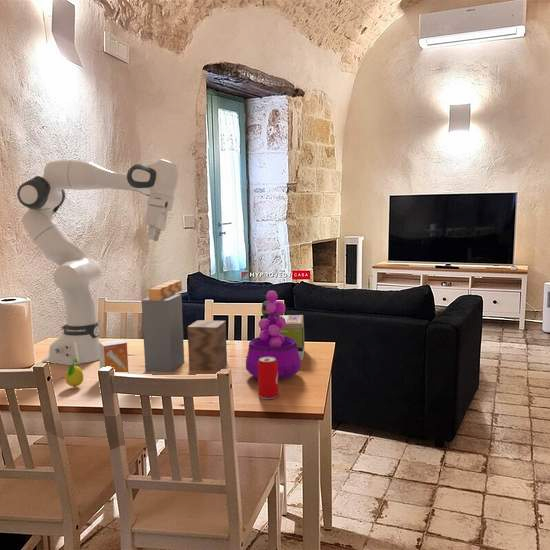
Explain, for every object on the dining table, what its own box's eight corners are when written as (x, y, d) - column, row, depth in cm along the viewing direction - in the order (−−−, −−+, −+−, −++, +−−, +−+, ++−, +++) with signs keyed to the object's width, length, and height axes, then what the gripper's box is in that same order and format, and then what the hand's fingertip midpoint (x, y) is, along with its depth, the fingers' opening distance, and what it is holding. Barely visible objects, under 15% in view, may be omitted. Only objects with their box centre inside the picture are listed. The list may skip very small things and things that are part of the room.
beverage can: (281, 394, 167) (280, 356, 166) (274, 401, 161) (273, 362, 160) (262, 392, 169) (261, 355, 168) (255, 399, 164) (254, 360, 162)
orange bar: (172, 290, 210) (171, 280, 210) (181, 290, 210) (181, 280, 209) (148, 300, 189) (148, 289, 188) (159, 300, 188) (159, 289, 188)
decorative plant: (264, 365, 197) (263, 284, 193) (310, 373, 188) (309, 288, 184) (235, 380, 181) (232, 292, 177) (283, 389, 172) (281, 296, 168)
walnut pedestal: (189, 370, 193) (187, 326, 191) (199, 361, 204) (197, 320, 202) (218, 371, 191) (217, 327, 189) (227, 362, 202) (225, 320, 200)
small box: (105, 383, 181) (103, 346, 179) (100, 378, 186) (98, 342, 184) (129, 379, 185) (127, 342, 183) (123, 374, 190) (121, 338, 189)
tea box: (280, 350, 218) (279, 314, 216) (304, 350, 217) (304, 314, 215) (276, 360, 203) (275, 322, 201) (303, 361, 202) (302, 322, 200)
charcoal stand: (159, 360, 206) (156, 293, 203) (184, 361, 204) (181, 294, 201) (145, 371, 193) (141, 300, 190) (171, 372, 192) (168, 300, 188)
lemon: (79, 383, 182) (77, 354, 180) (89, 386, 178) (87, 357, 177) (60, 388, 177) (58, 359, 175) (70, 392, 173) (68, 362, 172)
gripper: (157, 205, 210) (150, 240, 210) (146, 198, 190) (138, 236, 190) (173, 209, 210) (165, 243, 210) (164, 201, 190) (156, 240, 190)
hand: (152, 240), depth 200 cm, fingers open, 8 cm apart
